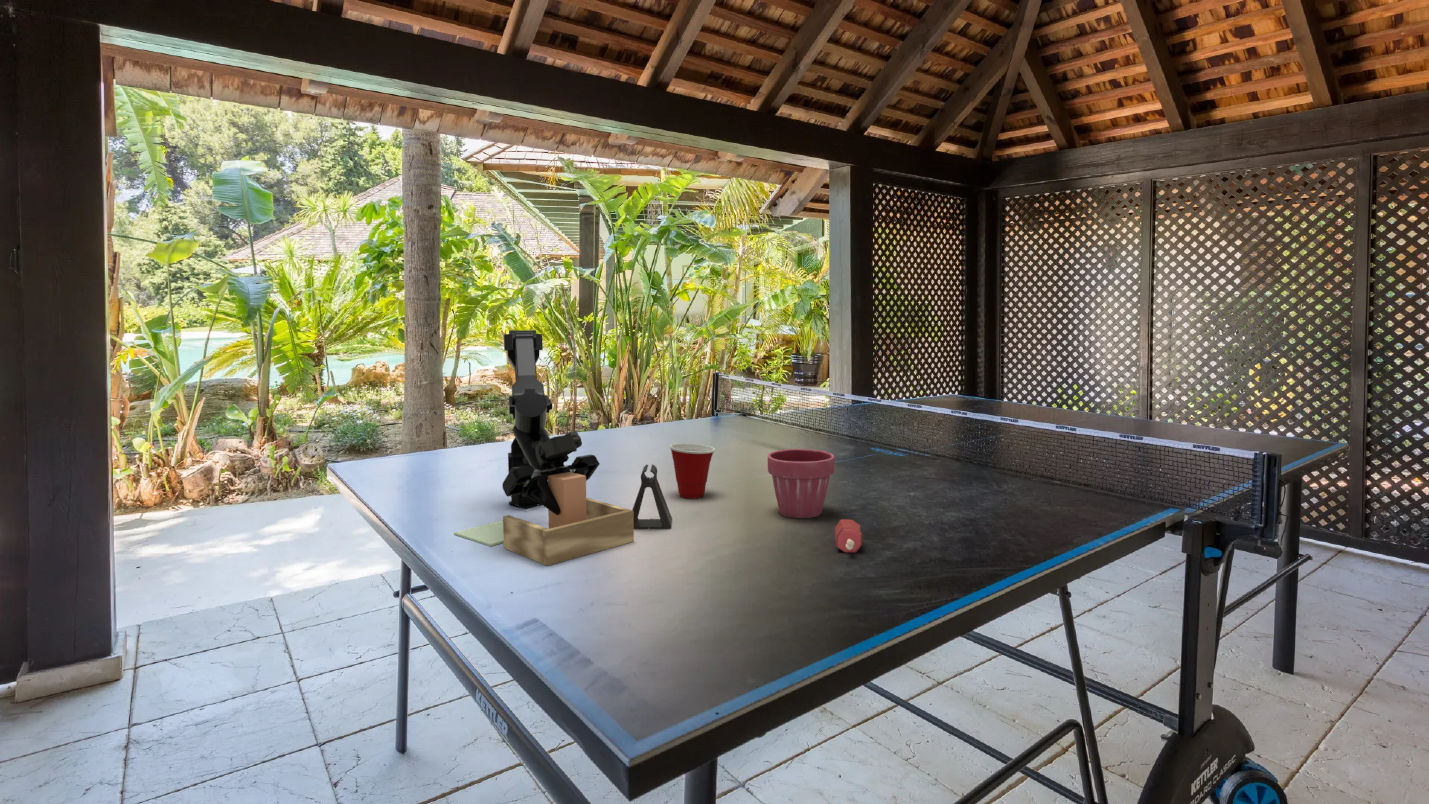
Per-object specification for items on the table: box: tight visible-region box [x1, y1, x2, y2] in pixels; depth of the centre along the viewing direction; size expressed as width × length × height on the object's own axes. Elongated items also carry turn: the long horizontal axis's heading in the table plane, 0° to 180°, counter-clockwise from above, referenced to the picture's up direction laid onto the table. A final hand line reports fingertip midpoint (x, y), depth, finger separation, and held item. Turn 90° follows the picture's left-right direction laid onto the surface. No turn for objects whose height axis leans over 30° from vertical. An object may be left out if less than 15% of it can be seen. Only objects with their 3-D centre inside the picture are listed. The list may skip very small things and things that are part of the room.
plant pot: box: [767, 448, 835, 519], centre depth 165 cm, size 14×14×13 cm
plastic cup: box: [669, 442, 716, 499], centre depth 180 cm, size 11×11×12 cm
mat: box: [453, 519, 504, 547], centre depth 151 cm, size 12×12×1 cm
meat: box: [834, 518, 863, 554], centre depth 141 cm, size 12×5×5 cm, turn 173°
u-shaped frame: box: [502, 497, 635, 566], centre depth 143 cm, size 14×19×6 cm
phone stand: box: [631, 463, 673, 530], centre depth 156 cm, size 9×6×12 cm, turn 91°
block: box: [547, 472, 587, 529], centre depth 143 cm, size 5×5×13 cm
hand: (571, 510), depth 142 cm, fingers closed on block, 5 cm apart
